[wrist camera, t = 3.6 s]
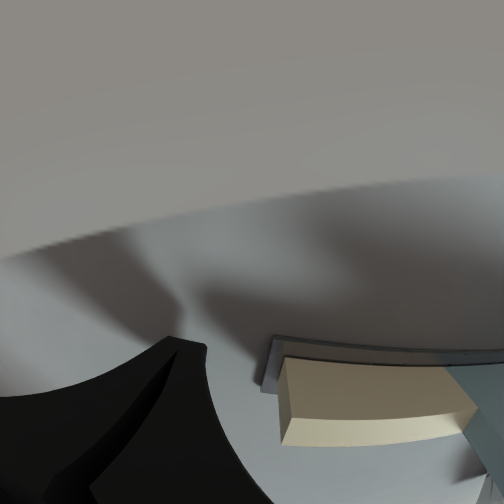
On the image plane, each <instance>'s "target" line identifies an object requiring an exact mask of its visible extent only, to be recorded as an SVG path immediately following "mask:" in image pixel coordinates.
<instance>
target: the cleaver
mask: <svg viewBox="0 0 504 504" xmlns="http://www.w3.org/2000/svg"><path fill="white" fill-rule="evenodd" d="M277 388H278V404H279V419H280V436H281V445H289V446H310V447H352V446H372V445H385V444H395V443H404V442H412V441H419V440H425V439H431V438H437V437H442V436H447V435H452V434H457V433H461V432H462V433H463V434H464V436H465V437H466V439H467V440H468V442H469V443H470V445H471V446H472V448H473V449H474V451H475V452H476V454H477V455H478V457H479V458H480V460H481V462H482V463H483V465H484V466H485V468H486V469H487V471H488V473H489V474H490V476H491V478H492V479H493V481H494V482H495V484H496V486H497V488H498V489H499V491H500V493H501V494H502V496H503V498H504V364H492V365H477V366H455V367H396V366H372V365H356V364H343V363H331V362H321V361H311V360H302V359H294V358H286V357H285V358H284V362H283V365H282V369H281V372H280V376H279V379H278V383H277Z"/></svg>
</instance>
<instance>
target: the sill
mask: <svg viewBox="0 0 504 504" xmlns="http://www.w3.org/2000/svg"><path fill="white" fill-rule="evenodd" d="M285 357H286V358H294V359H302V360H311V361H321V362H331V363H343V364H356V365H372V366H396V367H455V366H477V365H492V364H504V350H424V349H403V348H387V347H374V346H362V345H351V344H341V343H332V342H323V341H315V340H307V339H299V338H292V337H285V336H278V335H273V339H272V343H271V347H270V352H269V356H268V360H267V364H266V368H265V372H264V376H263V379H262V383H261V387H260V392H261V393H269V394H277V395H278V388H277V383H278V379H279V376H280V372H281V369H282V365H283V362H284V358H285Z"/></svg>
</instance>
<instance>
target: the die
mask: <svg viewBox="0 0 504 504" xmlns="http://www.w3.org/2000/svg"><path fill="white" fill-rule="evenodd" d="M486 475H487V476H486V478H485V481H484V484H483V487H482V489H481V492H480V495H479V498H478V500H477V503H476V504H504V498H503V496H502V494H501V493H500V491H499V489H498V488H497V486H496V484H495V482H494V481H493V479H492V478H491V476H490V474H489V473H488V471H487V474H486Z"/></svg>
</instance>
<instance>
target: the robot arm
mask: <svg viewBox="0 0 504 504" xmlns="http://www.w3.org/2000/svg"><path fill="white" fill-rule="evenodd" d="M206 355H207V346H206V345H205V344H204V343H199V342H194V341H189V340H185V339H180V338H176V337H171V336H167V337H166V338H164V339H162V340H161V341H159V342H158V343H156V344H155V345H153V346H152V347H150V348H149V349H147V350H145V351H144V352H142V353H141V354H139V355H137V356H136V357H134V358H132V359H131V360H129V361H127V362H126V363H124V364H122V365H120V366H118V367H116V368H114V369H112V370H110V371H108V372H106V373H104V374H102V375H100V376H97V377H95V378H92V379H90V380H87V381H84V382H81V383H79V384H76V385H72V386H68V387H65V388H61V389H57V390H53V391H49V392H44V393H38V394H32V395H23V396H12V397H0V504H274V503H273V502H272V501H271V500H270V499H269V498H268V496H267V495H266V494H265V493H264V492H263V491H262V490H261V488H260V487H259V486H258V485H257V484H256V482H255V481H254V480H253V478H252V477H251V476H250V474H249V473H248V471H247V470H246V469H245V467H244V466H243V464H242V463H241V461H240V459H239V458H238V456H237V454H236V453H235V451H234V449H233V448H232V446H231V444H230V443H229V441H228V439H227V437H226V435H225V433H224V430H223V428H222V426H221V424H220V421H219V419H218V416H217V414H216V411H215V408H214V405H213V402H212V398H211V395H210V391H209V387H208V381H207V376H206V368H205V363H206Z"/></svg>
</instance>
